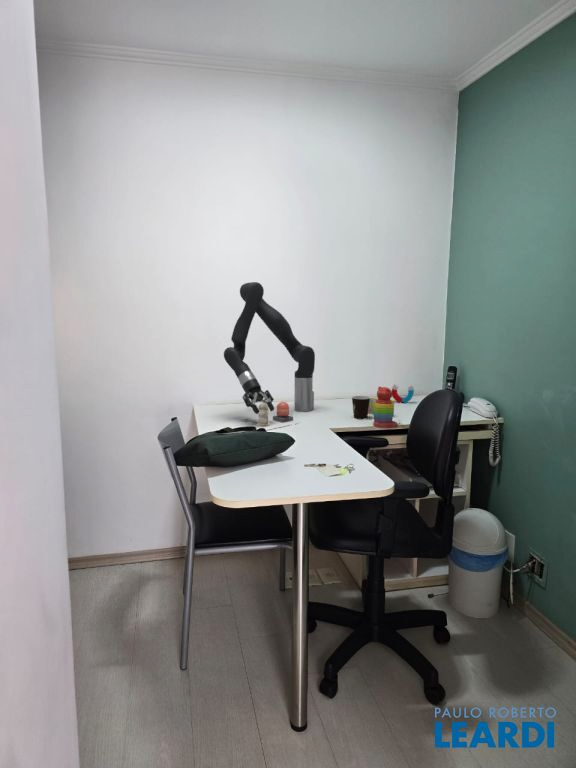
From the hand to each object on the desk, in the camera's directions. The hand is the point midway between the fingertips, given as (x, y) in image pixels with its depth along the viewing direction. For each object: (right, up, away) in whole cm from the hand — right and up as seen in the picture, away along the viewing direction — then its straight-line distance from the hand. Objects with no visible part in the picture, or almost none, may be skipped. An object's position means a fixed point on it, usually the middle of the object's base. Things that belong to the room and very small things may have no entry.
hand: (265, 411), depth 250 cm
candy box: (+55, -3, +28) cm, 62 cm away
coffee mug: (+46, -4, +22) cm, 51 cm away
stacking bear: (+54, -7, +6) cm, 55 cm away
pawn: (-1, -6, +2) cm, 7 cm away
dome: (+8, -2, +11) cm, 13 cm away
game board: (-1, -6, +9) cm, 11 cm away
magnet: (+73, +2, +57) cm, 93 cm away
